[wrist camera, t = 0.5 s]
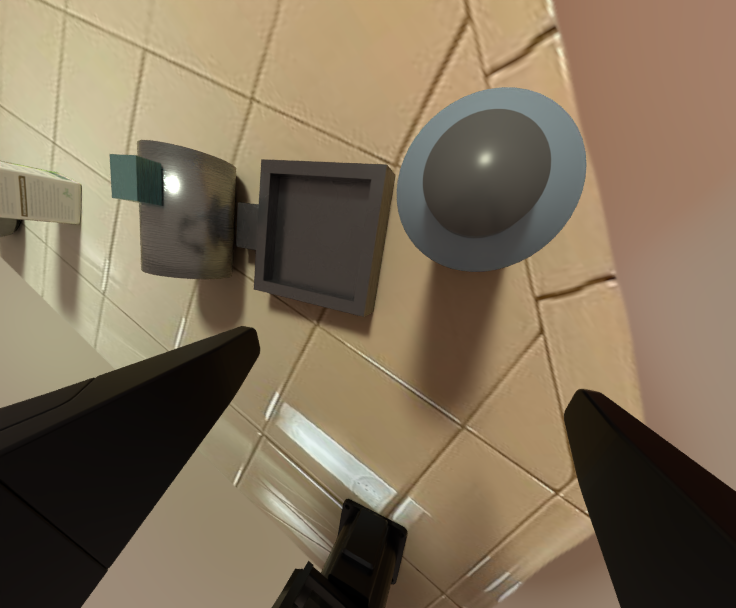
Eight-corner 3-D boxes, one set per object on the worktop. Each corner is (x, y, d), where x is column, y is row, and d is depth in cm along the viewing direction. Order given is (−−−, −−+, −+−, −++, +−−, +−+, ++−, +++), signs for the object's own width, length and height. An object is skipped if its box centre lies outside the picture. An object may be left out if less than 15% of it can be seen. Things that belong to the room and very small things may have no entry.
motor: (373, 311, 22) (322, 337, 15) (199, 270, 29) (101, 272, 21) (395, 174, 20) (348, 118, 12) (200, 164, 27) (91, 123, 19)
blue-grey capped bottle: (502, 272, 18) (565, 289, 6) (431, 261, 20) (375, 257, 8) (521, 197, 17) (641, 50, 5) (445, 192, 19) (405, 69, 7)
